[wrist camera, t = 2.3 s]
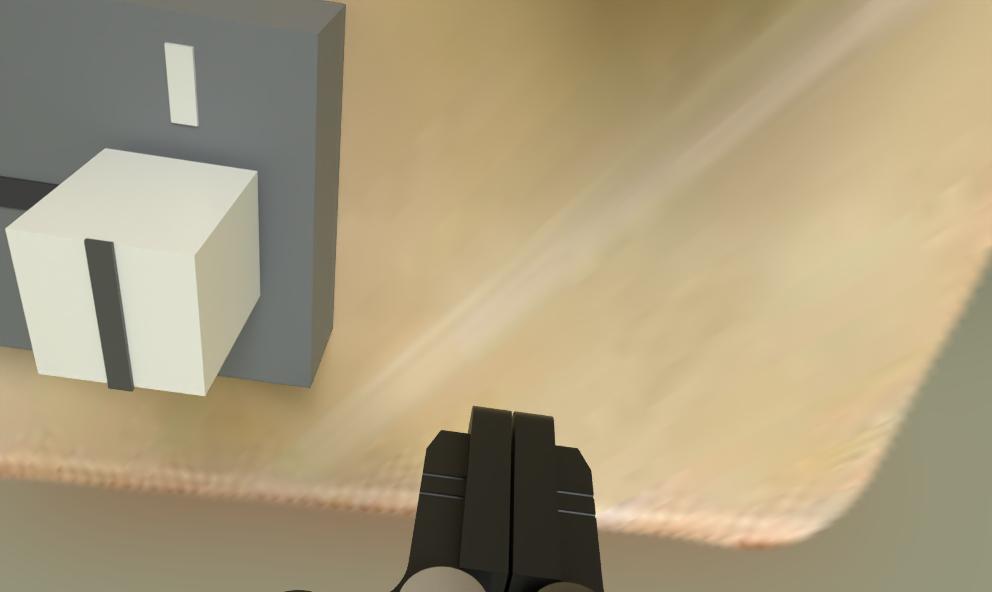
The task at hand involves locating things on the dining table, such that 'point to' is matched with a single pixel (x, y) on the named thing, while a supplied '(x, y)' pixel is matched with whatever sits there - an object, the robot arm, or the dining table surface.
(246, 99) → the fader slider base
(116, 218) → the fader knob
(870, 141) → the dining table surface
